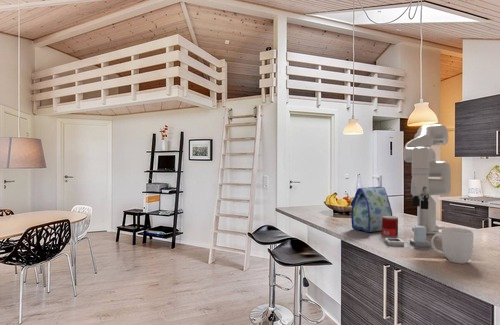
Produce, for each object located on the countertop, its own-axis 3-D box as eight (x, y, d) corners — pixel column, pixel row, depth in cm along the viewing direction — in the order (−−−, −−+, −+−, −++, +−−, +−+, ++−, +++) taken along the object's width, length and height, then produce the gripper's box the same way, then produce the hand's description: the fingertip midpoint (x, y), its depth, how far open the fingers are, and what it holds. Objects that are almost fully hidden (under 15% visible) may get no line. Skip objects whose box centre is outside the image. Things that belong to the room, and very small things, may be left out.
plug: (422, 244, 147) (422, 225, 147) (426, 246, 144) (426, 227, 143) (411, 243, 148) (411, 225, 148) (414, 245, 144) (414, 227, 144)
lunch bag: (371, 224, 197) (371, 185, 197) (394, 229, 183) (394, 187, 183) (347, 228, 186) (348, 186, 186) (370, 234, 172) (370, 189, 172)
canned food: (399, 238, 162) (399, 218, 162) (383, 237, 164) (384, 217, 164) (395, 235, 170) (395, 215, 170) (380, 234, 171) (380, 215, 171)
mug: (428, 259, 127) (429, 228, 127) (433, 253, 136) (433, 224, 136) (472, 267, 118) (472, 234, 118) (474, 260, 126) (474, 229, 126)
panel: (424, 243, 152) (425, 237, 152) (437, 251, 138) (437, 245, 138) (379, 241, 155) (379, 236, 155) (387, 249, 141) (387, 243, 141)
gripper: (405, 172, 155) (405, 205, 155) (419, 172, 138) (419, 210, 138) (421, 172, 154) (421, 205, 154) (436, 173, 137) (436, 210, 136)
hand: (420, 207), depth 146 cm, fingers open, 9 cm apart
